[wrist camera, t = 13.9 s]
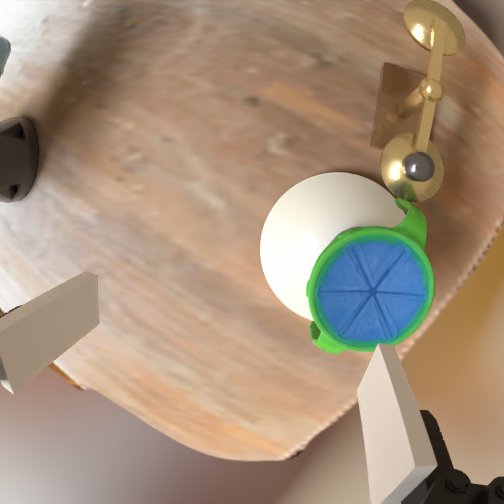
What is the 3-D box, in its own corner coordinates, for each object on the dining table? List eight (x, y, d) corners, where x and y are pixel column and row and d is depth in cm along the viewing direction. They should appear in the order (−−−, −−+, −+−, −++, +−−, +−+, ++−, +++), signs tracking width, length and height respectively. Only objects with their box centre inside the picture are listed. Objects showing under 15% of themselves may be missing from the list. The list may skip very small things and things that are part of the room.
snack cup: (346, 337, 34) (352, 391, 24) (276, 284, 34) (260, 326, 24) (435, 236, 29) (477, 260, 19) (366, 172, 29) (389, 170, 20)
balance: (361, 188, 31) (384, 194, 20) (385, 32, 26) (407, -16, 15) (411, 202, 30) (453, 215, 19) (431, 48, 25) (468, 9, 14)
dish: (249, 301, 37) (247, 304, 35) (278, 157, 32) (277, 156, 31) (383, 331, 34) (385, 336, 33) (425, 195, 30) (429, 195, 28)
